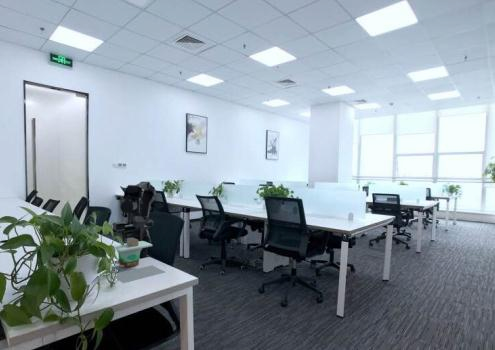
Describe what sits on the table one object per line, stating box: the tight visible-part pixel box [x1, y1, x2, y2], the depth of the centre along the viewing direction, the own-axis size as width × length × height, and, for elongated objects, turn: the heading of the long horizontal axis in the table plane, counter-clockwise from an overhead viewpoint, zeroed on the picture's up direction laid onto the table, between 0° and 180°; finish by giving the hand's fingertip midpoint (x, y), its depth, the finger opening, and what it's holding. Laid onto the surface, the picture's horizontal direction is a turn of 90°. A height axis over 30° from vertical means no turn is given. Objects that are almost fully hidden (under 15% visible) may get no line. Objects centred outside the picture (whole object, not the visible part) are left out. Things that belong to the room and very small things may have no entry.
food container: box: [116, 248, 142, 269], centre depth 138 cm, size 12×6×10 cm, turn 143°
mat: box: [115, 265, 166, 284], centre depth 129 cm, size 13×20×1 cm, turn 137°
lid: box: [114, 237, 153, 252], centre depth 138 cm, size 10×16×4 cm, turn 137°
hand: (132, 241), depth 138 cm, fingers open, 9 cm apart
